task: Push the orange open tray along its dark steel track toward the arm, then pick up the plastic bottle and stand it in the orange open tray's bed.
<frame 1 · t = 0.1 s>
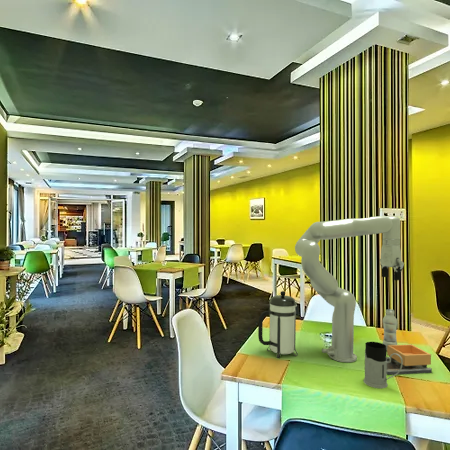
hand: (391, 278, 159), 37 cm above the table, tool pointing down, fingers open, 9 cm apart
coffee press: (280, 354, 159), on the table
grey mug: (382, 386, 129), on the table
orange open tray: (408, 356, 146), point 5 cm above the table, slide at 0.0 cm
plastic bottle: (389, 350, 165), on the table
track: (399, 367, 146), on the table
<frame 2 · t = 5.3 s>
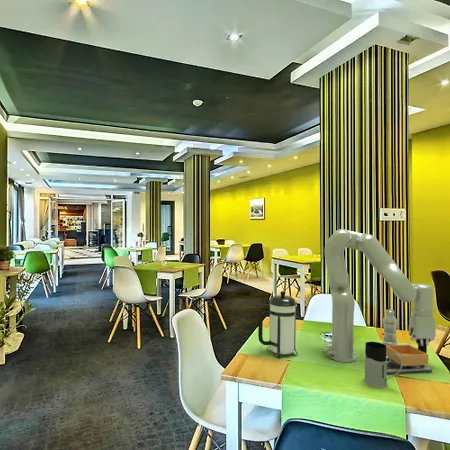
hand: (422, 353, 147), 5 cm above the table, tool pointing down, fingers closed
orange open tray: (405, 356, 146), point 5 cm above the table, slide at 1.2 cm, touching gripper
everything else where it was.
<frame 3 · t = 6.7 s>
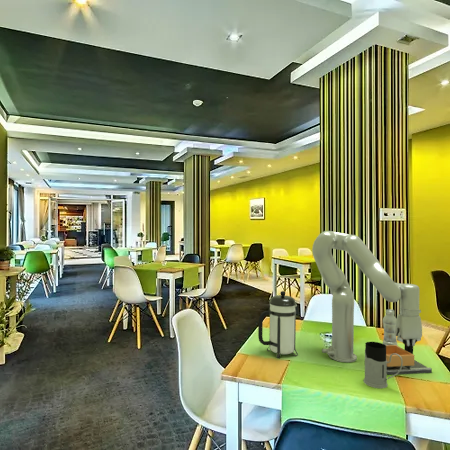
hand: (408, 354, 146), 6 cm above the table, tool pointing down, fingers closed
orange open tray: (392, 357, 145), point 5 cm above the table, slide at 7.7 cm, touching gripper
everything else where it was.
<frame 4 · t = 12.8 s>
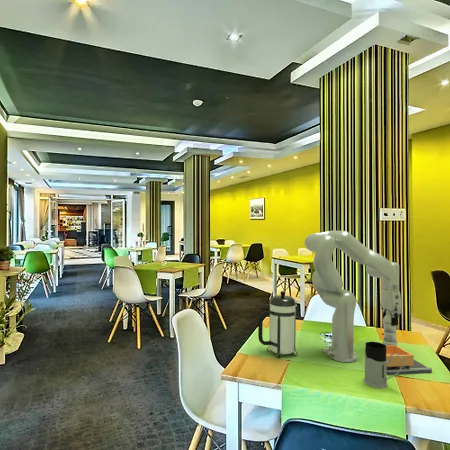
hand: (390, 322, 165), 14 cm above the table, tool pointing down, fingers closed on plastic bottle, 6 cm apart
orange open tray: (391, 357, 145), point 5 cm above the table, slide at 8.0 cm
plastic bottle: (389, 350, 165), on the table, touching gripper
everything else where it was.
when the fingers open (19 cm above the table, at t = 19.9 s): plastic bottle drops 1 cm, resting on orange open tray.
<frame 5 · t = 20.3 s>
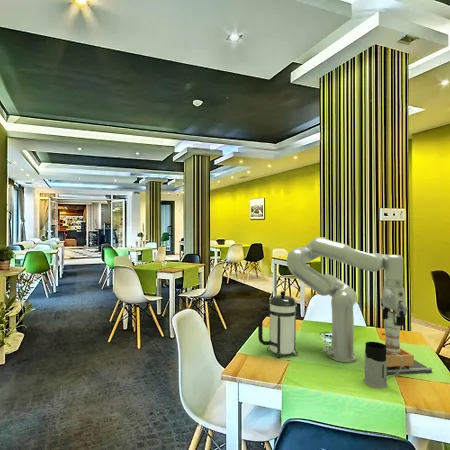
hand: (392, 322, 145), 20 cm above the table, tool pointing down, fingers open, 9 cm apart
orange open tray: (391, 357, 145), point 5 cm above the table, slide at 8.0 cm, touching plastic bottle
plastic bottle: (392, 358, 145), point 4 cm above the table, touching orange open tray
everything else where it was.
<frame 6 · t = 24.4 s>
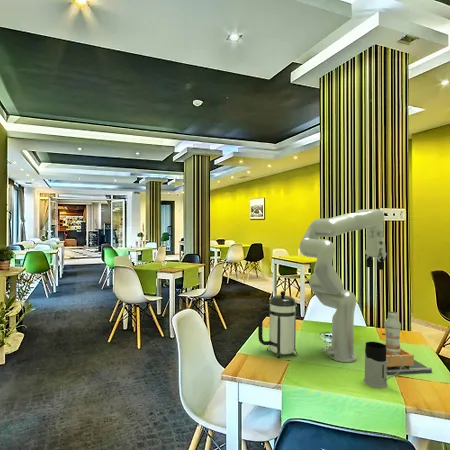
hand: (374, 268, 169), 40 cm above the table, tool pointing down, fingers open, 9 cm apart
nothing on the table moved.
at the end: orange open tray slide at 8.0 cm; plastic bottle 0.0 cm from the target spot, point 3.8 cm above the table; plastic bottle tilted 0° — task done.
